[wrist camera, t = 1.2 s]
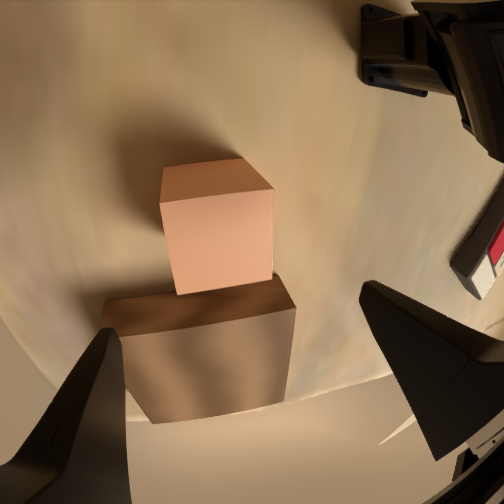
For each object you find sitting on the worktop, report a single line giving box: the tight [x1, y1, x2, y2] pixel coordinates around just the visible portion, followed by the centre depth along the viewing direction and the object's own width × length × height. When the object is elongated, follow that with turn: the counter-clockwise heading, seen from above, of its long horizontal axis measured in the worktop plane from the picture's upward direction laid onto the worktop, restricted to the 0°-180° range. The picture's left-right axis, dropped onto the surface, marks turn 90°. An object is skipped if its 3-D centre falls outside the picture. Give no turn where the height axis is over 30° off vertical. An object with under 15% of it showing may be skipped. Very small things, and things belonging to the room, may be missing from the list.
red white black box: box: [450, 180, 504, 300], centre depth 29 cm, size 11×4×15 cm
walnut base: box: [99, 275, 296, 424], centre depth 24 cm, size 14×14×4 cm
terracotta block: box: [159, 158, 274, 295], centre depth 16 cm, size 5×5×6 cm
